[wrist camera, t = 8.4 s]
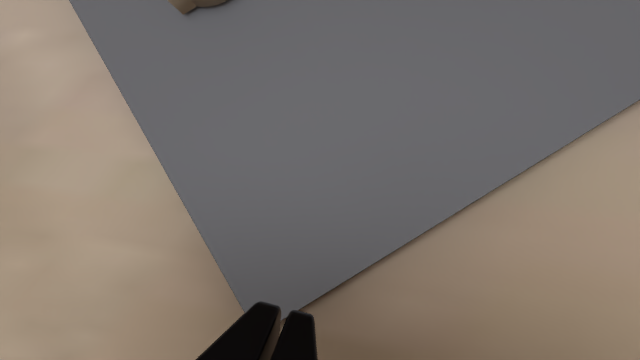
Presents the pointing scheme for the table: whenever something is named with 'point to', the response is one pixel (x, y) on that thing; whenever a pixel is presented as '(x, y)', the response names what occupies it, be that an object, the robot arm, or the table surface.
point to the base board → (354, 116)
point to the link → (193, 4)
